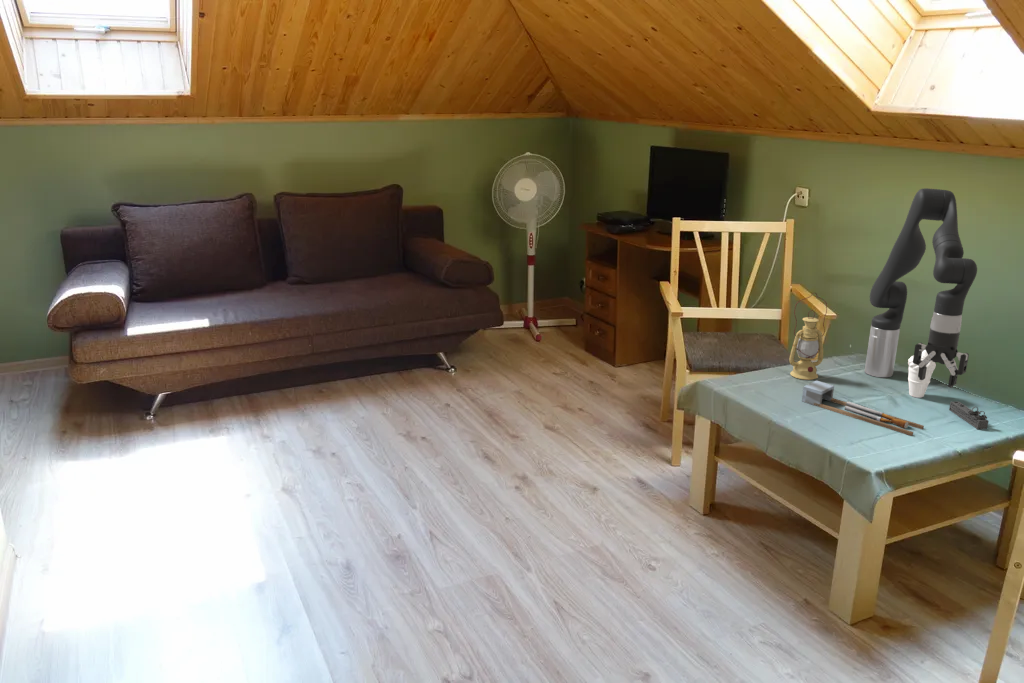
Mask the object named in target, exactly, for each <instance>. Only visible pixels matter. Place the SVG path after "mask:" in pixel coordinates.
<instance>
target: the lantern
mask: <svg viewBox="0 0 1024 683" xmlns="http://www.w3.org/2000/svg"><path fill="white" fill-rule="evenodd" d="M813 294H815V295H816V297H817V298H818V299H821V300H822V301H824V302H825V308H826V310H825V314H824V317H823V322H822V326H823V333H822V331H821V330H820V329H817V325H816V324H817V323H818V322H820V319H818V318H817V317H815V315H816V312H815V311H814V310H813V309H812V310H810V312H813V313H814V315H813V317H812V316H810V317H809V314H810V312H808V314H807V316H806V317H803V318H802V321H803V322H804V325H802V329H800V330H798V331H797V332H796V328H797V326H795V327H794V330H793V335H794V336H795V337H794V339H793V343H792V346H791V350H790V352H789V356H788V357H789V358H788V361H789V364H790V365H791V366H792V371H790V373H789V374H790V376H792V377H793V378H796V379H799V380H806V381H808V380H809V381H811V380H816V379H818V378H819V375H818V373H817V369H818V368H817V366H819V365H821V364H822V362H823V360H824V343H823V336H824V335H825V333H826V329H825V318H826V316H827V313H828V306H827V305H828V303H827V302H826V300H825V299H823V298H821V297H819V296H818V294H817V293H816V292H812V293H811V295H810V296H807V297H806V298H802V299H800V300H798V301H797V302H796V304H795V305H794V306H795V307H794V312H793V313H794V317H795V324H797V317H796V308H797V304H799V303H800V302H801V301H803V300H807V299H808V298H810V297H812V296H813ZM796 353H797V357H798V358H799V359H800V360H798V361H795V360H794V358H795V356H796V355H795V354H796ZM817 355H818V359H817V361H814V362H813V361H812V360H814V359H815V358H816V356H817Z"/></svg>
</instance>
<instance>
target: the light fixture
mask: <svg viewBox="0 0 1024 683" xmlns="http://www.w3.org/2000/svg"><path fill="white" fill-rule="evenodd" d="M976 408H977V410H975V411H974V409H976ZM948 411H950V412H951V413H953V414H954V415H956V416H957V417H958V418H960V419H961V420H963V421H964V422H966V423H968V424H969V425H970V426H972V427H973V428H975V429H976V430H988V426H989V420H988V417H987V415H986V412H985V411H983V410H979V408H978V407H977V406H973V407H972V408H970V407H968V406H967V405H965V404H964V403H962V402H961V401H950V404H949V407H948ZM981 413H983V414H981Z"/></svg>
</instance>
